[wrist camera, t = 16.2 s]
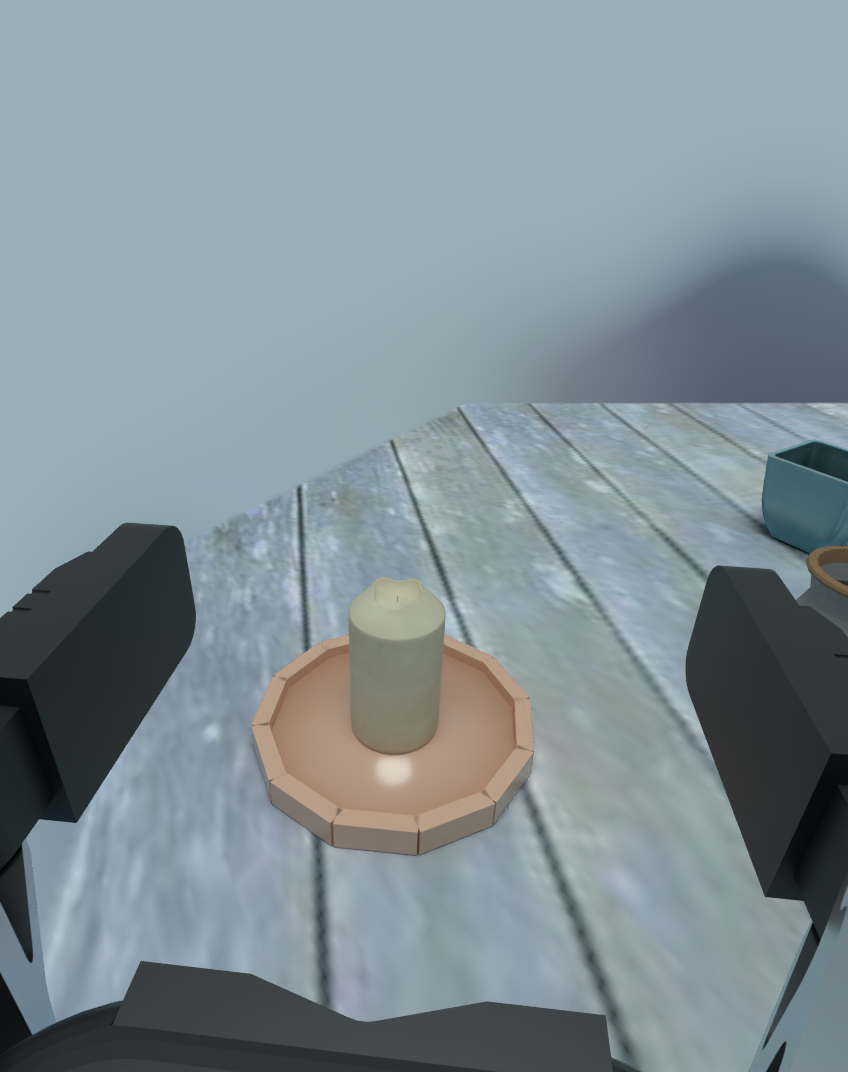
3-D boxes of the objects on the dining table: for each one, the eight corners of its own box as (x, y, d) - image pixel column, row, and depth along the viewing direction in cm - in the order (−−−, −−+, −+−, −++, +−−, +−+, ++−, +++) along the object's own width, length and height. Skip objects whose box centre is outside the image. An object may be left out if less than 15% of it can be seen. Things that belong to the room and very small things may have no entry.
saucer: (452, 628, 52) (453, 609, 51) (584, 789, 39) (589, 767, 38) (233, 683, 46) (231, 663, 45) (302, 901, 32) (300, 878, 31)
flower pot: (825, 572, 62) (859, 486, 58) (741, 534, 68) (766, 453, 64) (871, 549, 67) (905, 467, 62) (788, 515, 73) (814, 438, 69)
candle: (332, 722, 41) (327, 588, 37) (394, 680, 45) (397, 554, 40) (394, 770, 38) (397, 630, 33) (456, 722, 42) (467, 589, 37)
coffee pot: (912, 848, 36) (1046, 626, 29) (694, 765, 41) (763, 556, 34) (886, 642, 53) (967, 469, 46) (733, 599, 57) (784, 436, 50)
